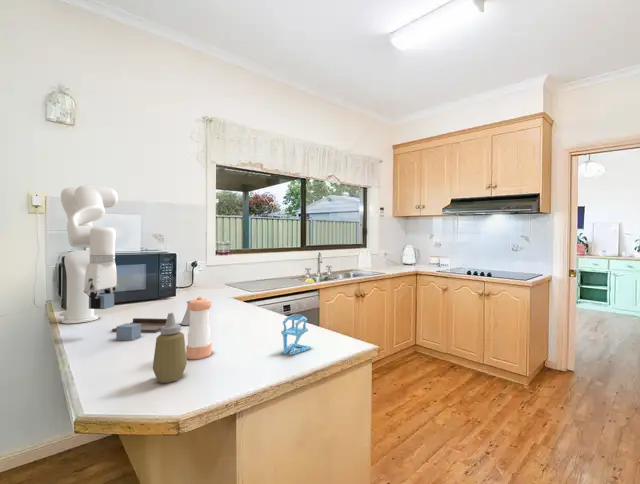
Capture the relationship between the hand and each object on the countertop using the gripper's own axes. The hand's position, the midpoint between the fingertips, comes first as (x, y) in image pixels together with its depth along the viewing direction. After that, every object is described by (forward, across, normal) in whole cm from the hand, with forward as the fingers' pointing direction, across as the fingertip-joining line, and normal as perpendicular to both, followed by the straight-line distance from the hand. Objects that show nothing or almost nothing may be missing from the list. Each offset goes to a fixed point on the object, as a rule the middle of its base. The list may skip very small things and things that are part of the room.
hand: (101, 306), depth 128 cm
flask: (+12, -21, +22) cm, 33 cm away
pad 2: (+11, +1, +12) cm, 16 cm away
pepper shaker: (+11, +17, +48) cm, 52 cm away
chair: (+10, +10, +78) cm, 79 cm away
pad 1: (0, 0, 0) cm, 0 cm away
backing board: (+12, -13, +8) cm, 19 cm away
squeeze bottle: (+10, +35, +50) cm, 62 cm away
